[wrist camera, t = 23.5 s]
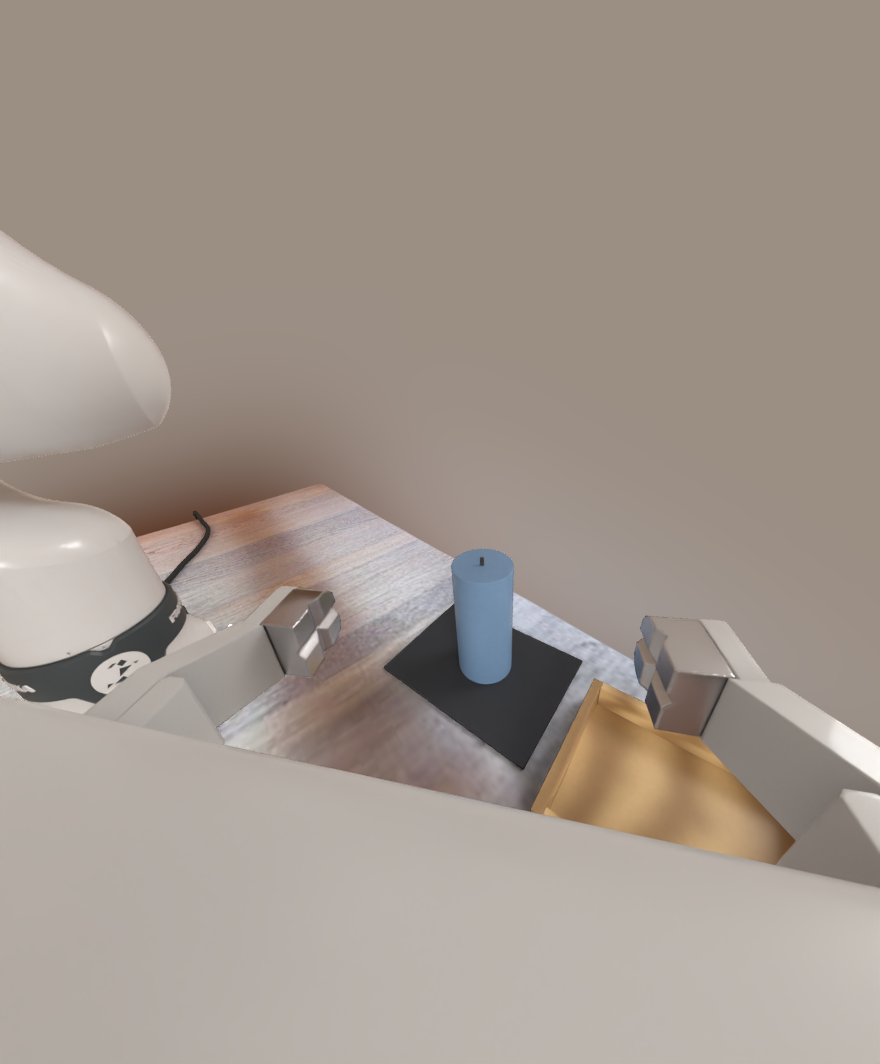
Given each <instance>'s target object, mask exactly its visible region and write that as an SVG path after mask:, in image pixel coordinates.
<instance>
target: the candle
mask: <svg viewBox="0 0 880 1064" xmlns="http://www.w3.org/2000/svg"><path fill="white" fill-rule="evenodd" d="M451 569H452V581H453V593H454V606H455V618H456V630H457V643H458V655H459V666H460V669H461V671H462V672H463V674H464V675H465V676H466V677H467V678H468V679H470V680H472V681H474V682H476V683H480V684H493V683H496V682H499V681H501V680H502V679H504V678H505V677H506V676H507V675H508V673H509V672H510V669H511V661H512V618H513V575H514V565H513V562H512V560H511V559H510V558H509V557H508V556H507V555H506V554H504V553H502V552H499V551H496V550H491V549H476V550H470V551H467V552H464V553H462V554H460V555H459V556H457V557H456V558H455V559H454V560H453V562H452V565H451Z"/></svg>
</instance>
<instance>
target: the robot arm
mask: <svg viewBox="0 0 880 1064" xmlns="http://www.w3.org/2000/svg"><path fill="white" fill-rule="evenodd" d="M170 398H171V384H170V377H169V373H168V369H167V366H166V363H165V361H164V359H163V356H162V354H161V352H160V351H159V349H158V347H157V346H156V344H155V342H154V341H153V340H152V338H151V337H150V335H149V334H148V333H147V332H146V330H145V329H144V328H143V327H142V326H141V325H140V324H139V323H138V322H137V321H136V320H135V319H134V318H133V317H132V316H131V315H130V314H129V313H128V312H127V311H126V310H124V309H123V308H122V307H121V306H120V305H118V304H117V303H116V302H114V301H113V300H111V299H110V298H108V297H107V296H106V295H104V294H102V293H101V292H99V291H98V290H96V289H94V288H93V287H90V286H88V285H87V284H85V283H83V282H81V281H79V280H77V279H75V278H73V277H71V276H69V275H68V274H66V273H64V272H62V271H60V270H59V269H57V268H55V267H54V266H52V265H50V264H49V263H47V262H45V261H44V260H42V259H41V258H39V257H38V256H36V255H35V254H33V253H32V252H30V251H29V250H27V249H26V248H24V247H23V246H21V245H20V244H19V243H17V242H16V241H15V240H13V239H12V238H10V237H9V236H8V235H7V234H5V233H4V232H2V231H1V230H0V463H1V462H7V461H14V460H20V459H27V458H33V457H38V456H45V455H52V454H59V453H65V452H71V451H78V450H84V449H91V448H96V447H99V446H102V445H106V444H109V443H112V442H115V441H118V440H121V439H124V438H127V437H130V436H133V435H136V434H139V433H141V432H144V431H147V430H150V429H153V428H155V427H158V426H159V425H160V423H161V422H162V420H163V419H164V417H165V415H166V413H167V410H168V407H169V404H170ZM193 514H194V516H195V518H196V520H199V521H200V523H201V524H202V525H203V526H204V527H205V528H206V533H205V535H204V537H203V539H202V540H201V541H200V543H199V544H198V545H197V547H196V548H195V549H194V550H193V551H192V552H191V553H190V554H189V555H188V556H187V557H186V558H185V559H184V560H183V561H182V562H181V563H180V564H179V565H178V566H177V568H176V569H175V570H174V571H173V572H172V573H171V574H170V575H169V577H168V578H167V579H166V580H165V581H164V582H163V581H161V579H160V577H159V576H158V574H157V572H156V571H155V569H154V567H153V565H152V564H151V562H150V560H149V558H148V557H147V555H146V553H145V552H144V550H143V548H142V546H141V545H140V543H139V541H138V540H137V538H136V536H135V534H134V533H133V531H132V529H131V528H130V526H128V524H126V523H125V522H124V521H123V520H121V519H120V518H118V517H117V516H115V515H113V514H111V513H109V512H107V511H105V510H102V509H100V508H97V507H94V506H90V505H86V504H80V503H73V502H64V501H54V500H48V499H44V498H40V497H36V496H33V495H30V494H27V493H25V492H23V491H20V490H18V489H16V488H14V487H12V486H10V485H8V484H6V483H5V482H3V481H2V480H0V675H1V676H2V680H3V681H4V682H5V683H6V684H7V685H8V686H9V687H10V688H12V689H13V690H15V691H17V692H18V693H19V694H20V695H21V696H22V697H23V698H24V699H26V700H27V702H25V701H21V700H16V699H11V698H7V697H2V696H0V1064H880V748H879V747H878V746H876V745H875V744H873V743H872V742H870V741H869V740H867V739H865V738H864V737H862V736H861V735H859V734H858V733H856V732H855V731H853V730H851V729H850V728H848V727H847V726H845V725H844V724H842V723H840V722H839V721H837V720H836V719H834V718H833V717H831V716H830V715H828V714H826V713H825V712H823V711H822V710H820V709H819V708H817V707H815V706H814V705H812V704H810V703H809V702H808V701H806V700H805V699H803V698H801V697H800V696H798V695H797V694H795V693H794V692H792V691H790V690H789V689H787V688H786V687H784V686H783V685H781V684H776V683H771V682H770V681H769V680H768V678H767V677H766V676H765V674H764V673H763V671H762V670H761V669H760V667H759V666H758V665H757V663H756V662H755V660H754V659H753V658H752V656H751V655H750V654H749V652H748V651H747V650H746V648H745V647H744V646H743V644H742V643H741V641H740V640H739V639H738V637H737V636H736V635H735V633H734V632H733V631H732V629H731V628H730V627H729V626H728V624H727V623H725V622H724V621H721V620H704V619H695V620H694V619H684V618H669V617H657V616H645V618H644V619H643V620H642V624H641V627H640V629H641V632H642V634H643V637H644V638H642V639H641V640H639V641H638V642H637V643H636V647H635V652H634V665H635V671H636V675H637V678H638V682H639V684H640V685H641V686H643V687H644V688H645V689H646V690H647V691H648V692H647V695H646V699H645V703H646V706H647V709H648V711H649V714H650V717H651V720H652V723H653V726H654V729H657V730H662V731H668V732H674V733H680V734H685V735H691V736H697V737H701V738H700V740H701V741H702V742H703V743H704V744H705V745H706V746H707V747H708V748H709V749H710V750H711V751H712V752H713V753H714V754H715V756H716V757H717V758H718V759H719V760H720V761H721V762H722V763H723V764H724V765H725V766H726V767H727V768H728V769H729V770H730V771H731V773H732V774H733V775H734V776H735V777H736V778H737V779H738V780H739V781H740V782H741V783H742V784H743V785H744V786H745V787H746V788H747V790H748V791H749V792H750V793H751V794H752V795H753V796H754V797H755V798H756V799H757V800H758V801H759V802H760V803H761V804H762V805H763V806H764V808H765V809H766V810H767V811H768V812H769V813H770V814H771V815H772V816H773V817H774V818H775V819H776V820H777V821H778V822H779V823H780V825H781V826H782V827H783V828H784V829H785V830H786V831H787V832H788V833H789V834H790V835H791V836H792V837H793V838H794V839H795V840H796V842H795V843H794V844H793V845H792V846H791V847H790V848H789V849H788V851H787V852H786V853H785V854H784V855H783V856H782V857H781V858H780V860H779V861H778V863H777V864H776V865H772V864H768V863H763V862H758V861H754V860H749V859H745V858H740V857H735V856H731V855H726V854H722V853H717V852H712V851H708V850H703V849H699V848H694V847H689V846H685V845H680V844H676V843H671V842H666V841H662V840H657V839H653V838H648V837H644V836H639V835H634V834H630V833H625V832H621V831H616V830H611V829H607V828H602V827H598V826H593V825H589V824H584V823H580V822H575V821H570V820H566V819H561V818H557V817H552V816H548V815H543V814H538V813H534V812H529V811H525V810H520V809H516V808H511V807H506V806H502V805H497V804H493V803H488V802H484V801H479V800H474V799H470V798H465V797H461V796H456V795H452V794H447V793H442V792H438V791H433V790H429V789H424V788H419V787H415V786H410V785H406V784H401V783H396V782H392V781H387V780H383V779H378V778H373V777H369V776H364V775H360V774H355V773H350V772H346V771H341V770H337V769H332V768H327V767H323V766H318V765H314V764H309V763H305V762H300V761H295V760H291V759H286V758H282V757H277V756H272V755H268V754H263V753H259V752H254V751H249V750H245V749H240V748H236V747H231V746H226V745H224V739H223V737H222V736H221V734H220V733H219V731H218V730H217V727H218V726H219V725H221V724H222V723H223V722H225V721H226V720H227V719H229V718H230V717H231V716H233V715H234V714H235V713H237V712H238V711H239V710H241V709H242V708H243V707H245V706H246V705H247V704H249V703H250V702H251V701H253V700H254V699H255V698H257V697H258V696H259V695H261V694H262V693H263V692H265V691H266V690H267V689H269V688H270V687H271V686H273V685H274V684H275V683H277V682H278V681H279V680H281V679H282V678H283V677H285V675H293V676H301V677H310V678H313V676H314V675H315V673H316V672H317V670H318V668H319V667H320V665H321V664H322V662H323V661H324V659H325V653H324V651H326V650H327V649H329V648H330V647H332V646H333V645H334V644H335V642H336V640H337V639H338V636H339V633H340V629H341V620H340V616H339V613H338V612H337V611H336V610H335V609H334V608H333V605H334V603H335V599H334V596H333V593H332V592H330V591H328V590H321V589H312V588H302V587H290V586H282V587H279V588H277V589H276V590H275V591H274V592H273V593H272V594H271V595H270V596H269V597H268V598H267V599H266V600H265V601H264V602H263V603H262V604H261V605H260V606H259V607H258V608H257V609H256V610H255V611H254V612H253V613H251V614H250V615H249V616H248V617H247V618H246V619H245V620H244V621H243V622H242V623H235V624H233V625H229V626H228V627H226V628H224V629H222V630H220V631H218V632H217V631H216V630H215V628H214V626H213V625H212V623H211V622H210V621H204V620H203V619H201V618H199V617H196V616H193V615H189V614H188V612H187V610H186V608H185V607H184V606H182V603H181V600H180V598H179V596H178V595H177V594H176V592H175V591H173V589H172V588H171V586H170V585H169V584H170V583H171V581H172V580H173V579H174V578H175V577H176V576H177V575H178V573H179V572H180V571H181V570H182V569H183V567H184V566H185V565H186V564H187V563H188V562H189V561H190V560H191V559H192V558H193V557H194V556H195V555H196V554H197V553H198V552H199V550H200V549H201V548H202V547H203V545H204V544H205V542H206V541H207V539H208V538H209V535H210V527H209V525H208V524H207V523H206V522H205V521H204V520H203V519H202V517H201V516H200V515H199V513H198V512H197V511H193Z"/></svg>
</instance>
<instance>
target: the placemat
mask: <svg viewBox="0 0 880 1064" xmlns="http://www.w3.org/2000/svg"><path fill="white" fill-rule="evenodd" d="M581 663H582V660H580V659H578V658H575V657H573V656H571V655H569V654H567V653H565V652H563V651H560V650H558V649H556V648H554V647H552V646H550V645H547V644H545V643H543V642H541V641H539V640H537V639H535V638H532V637H530V636H528V635H526V634H524V633H522V632H519V631H517V630H515V629H513V628H512V661H511V669H510V672H509V673H508V675H507V676H506V677H505V678H504V679H502V680H501V681H499V682H496V683H493V684H480V683H476V682H474V681H472V680H470V679H468V678H467V677H466V676H465V675H464V674H463V672H462V671H461V669H460V666H459V655H458V643H457V630H456V618H455V606H454V604H453V605H452V606H451V607H450V608H449V609H448V610H447V611H445V612H444V613H443V614H442V615H441V616H440V617H439V618H438V619H437V620H435V621H434V622H433V623H432V624H431V625H430V626H429V627H428V628H426V629H425V630H424V631H423V632H422V633H421V634H420V635H419V636H418V637H416V638H415V639H414V640H413V641H412V642H411V643H410V644H409V645H408V646H406V647H405V648H404V649H403V650H402V651H401V652H400V653H399V654H398V655H396V656H395V657H394V658H393V659H392V660H391V661H390V662H389V663H387V664H386V665H385V666H384V669H386V670H387V671H388V672H390V673H391V674H392V675H394V676H395V677H397V678H398V679H399V680H401V681H402V682H403V683H405V684H406V685H407V686H409V687H410V688H412V689H413V690H414V691H416V692H417V693H418V694H420V695H421V696H423V697H424V698H425V699H427V700H428V701H429V702H431V703H432V704H434V705H435V706H436V707H438V708H439V709H440V710H442V711H443V712H445V713H446V714H447V715H449V716H450V717H451V718H453V719H454V720H455V721H457V722H458V723H460V724H461V725H462V726H464V727H465V728H466V729H468V730H469V731H471V732H472V733H473V734H475V735H476V736H477V737H479V738H480V739H482V740H483V741H484V742H486V743H487V744H488V745H490V746H491V747H493V748H494V749H495V750H497V751H498V752H499V753H501V754H502V755H503V756H505V757H506V758H508V759H509V760H510V761H512V762H513V763H514V764H516V765H517V766H519V767H520V768H521V769H524V768H525V766H526V764H527V762H528V760H529V759H530V757H531V755H532V753H533V751H534V749H535V748H536V746H537V744H538V742H539V740H540V738H541V737H542V735H543V733H544V731H545V729H546V727H547V726H548V724H549V722H550V720H551V718H552V716H553V715H554V713H555V711H556V709H557V707H558V705H559V704H560V702H561V700H562V698H563V696H564V694H565V693H566V691H567V689H568V687H569V685H570V683H571V682H572V680H573V678H574V676H575V674H576V672H577V671H578V669H579V667H580V665H581Z"/></svg>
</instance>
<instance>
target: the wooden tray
mask: <svg viewBox="0 0 880 1064" xmlns="http://www.w3.org/2000/svg"><path fill="white" fill-rule="evenodd" d="M700 738H701V737H697V736H691V735H685V734H680V733H674V732H668V731H662V730H657V729H654V726H653V723H652V720H651V717H650V714H649V711H648V709H647V706H646V703H644V702H642V701H640V700H638V699H636V698H634V697H632V696H630V695H628V694H626V693H624V692H621V691H619V690H617V689H615V688H613V687H611V686H609V685H607V684H605V683H603V682H601V681H599V680H597V679H595V678H594V680H593V682H592V684H591V686H590V688H589V690H588V692H587V694H586V696H585V698H584V700H583V702H582V705H581V707H580V709H579V711H578V713H577V715H576V717H575V719H574V721H573V723H572V725H571V727H570V729H569V731H568V733H567V735H566V737H565V739H564V741H563V744H562V746H561V748H560V750H559V752H558V754H557V756H556V758H555V760H554V762H553V764H552V766H551V768H550V770H549V772H548V774H547V776H546V778H545V780H544V783H543V785H542V787H541V789H540V791H539V793H538V795H537V797H536V799H535V801H534V803H533V805H532V807H531V812H534V813H538V814H543V815H548V816H552V817H557V818H561V819H566V820H570V821H575V822H580V823H584V824H589V825H593V826H598V827H602V828H607V829H611V830H616V831H621V832H625V833H630V834H634V835H639V836H644V837H648V838H653V839H657V840H662V841H666V842H671V843H676V844H680V845H685V846H689V847H694V848H699V849H703V850H708V851H712V852H717V853H722V854H726V855H731V856H735V857H740V858H745V859H749V860H754V861H758V862H763V863H768V864H772V865H776V864H777V863H778V861H779V860H780V858H781V857H782V856H783V855H784V854H785V853H786V852H787V851H788V849H789V848H790V847H791V846H792V845H793V844H794V843H795V842H796V840H795V839H794V838H793V837H792V836H791V835H790V834H789V833H788V832H787V831H786V830H785V829H784V828H783V827H782V826H781V825H780V823H779V822H778V821H777V820H776V819H775V818H774V817H773V816H772V815H771V814H770V813H769V812H768V811H767V810H766V809H765V808H764V806H763V805H762V804H761V803H760V802H759V801H758V800H757V799H756V798H755V797H754V796H753V795H752V794H751V793H750V792H749V791H748V790H747V788H746V787H745V786H744V785H743V784H742V783H741V782H740V781H739V780H738V779H737V778H736V777H735V776H734V775H733V774H732V773H731V771H730V770H729V769H728V768H727V767H726V766H725V765H724V764H723V763H722V762H721V761H720V760H719V759H718V758H717V757H716V756H715V754H714V753H713V752H712V751H711V750H710V749H709V748H708V747H707V746H706V745H705V744H704V743H703V742H702V741H701V740H700Z"/></svg>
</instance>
